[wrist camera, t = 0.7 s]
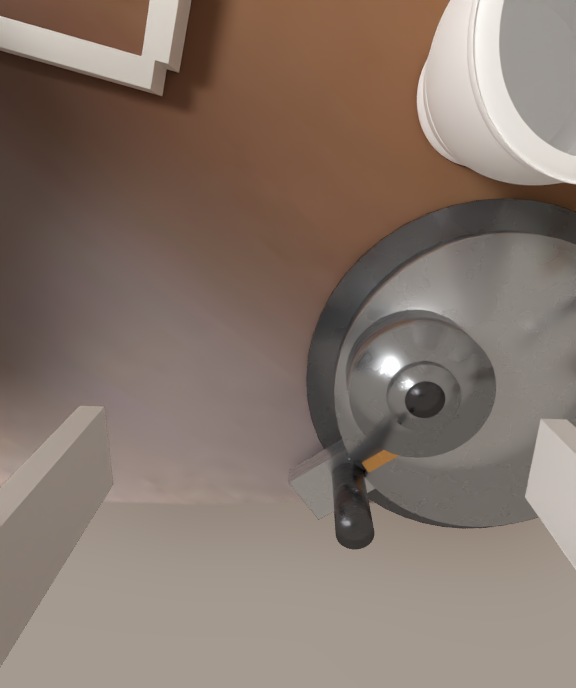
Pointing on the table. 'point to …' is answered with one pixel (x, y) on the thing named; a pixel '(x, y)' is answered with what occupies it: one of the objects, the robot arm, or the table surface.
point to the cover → (419, 384)
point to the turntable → (511, 385)
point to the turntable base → (386, 259)
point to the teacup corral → (108, 48)
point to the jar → (504, 89)
